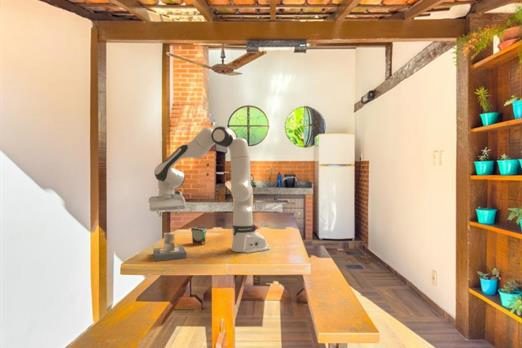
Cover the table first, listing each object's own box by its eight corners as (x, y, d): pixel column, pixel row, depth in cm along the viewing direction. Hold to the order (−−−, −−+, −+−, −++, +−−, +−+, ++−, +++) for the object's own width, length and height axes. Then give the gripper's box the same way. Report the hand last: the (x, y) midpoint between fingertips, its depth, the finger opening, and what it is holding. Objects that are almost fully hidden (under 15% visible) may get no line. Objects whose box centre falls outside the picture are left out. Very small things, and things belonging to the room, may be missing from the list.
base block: (182, 251, 194) (182, 245, 194) (186, 257, 179) (186, 251, 179) (153, 253, 189) (153, 248, 189) (154, 261, 174) (154, 255, 174)
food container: (211, 243, 212) (210, 227, 212) (203, 245, 207) (202, 229, 207) (199, 241, 220) (198, 225, 220) (191, 242, 216) (190, 227, 215)
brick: (173, 248, 187) (173, 232, 187) (174, 250, 183) (174, 233, 182) (164, 249, 186) (163, 232, 185) (164, 251, 181) (164, 234, 181)
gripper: (148, 193, 197) (149, 213, 188) (184, 191, 204) (187, 210, 195) (148, 200, 201) (149, 219, 193) (183, 198, 208) (186, 216, 200)
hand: (168, 215), depth 194 cm, fingers open, 8 cm apart
